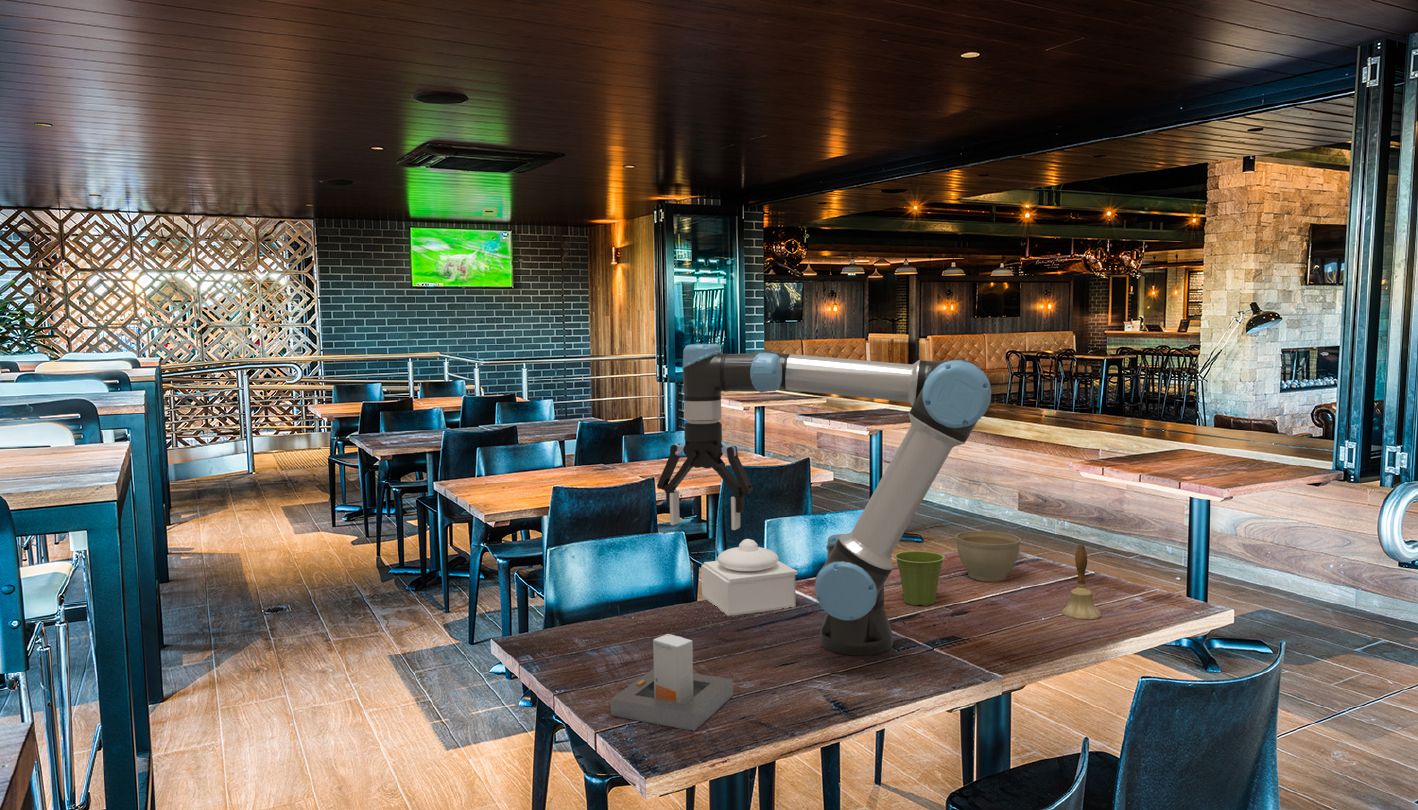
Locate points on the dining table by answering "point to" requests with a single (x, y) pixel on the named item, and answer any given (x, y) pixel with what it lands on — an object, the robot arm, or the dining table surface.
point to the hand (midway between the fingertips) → (705, 526)
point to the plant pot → (919, 576)
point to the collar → (689, 716)
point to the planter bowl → (987, 554)
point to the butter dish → (748, 580)
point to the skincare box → (673, 668)
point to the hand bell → (1081, 592)
